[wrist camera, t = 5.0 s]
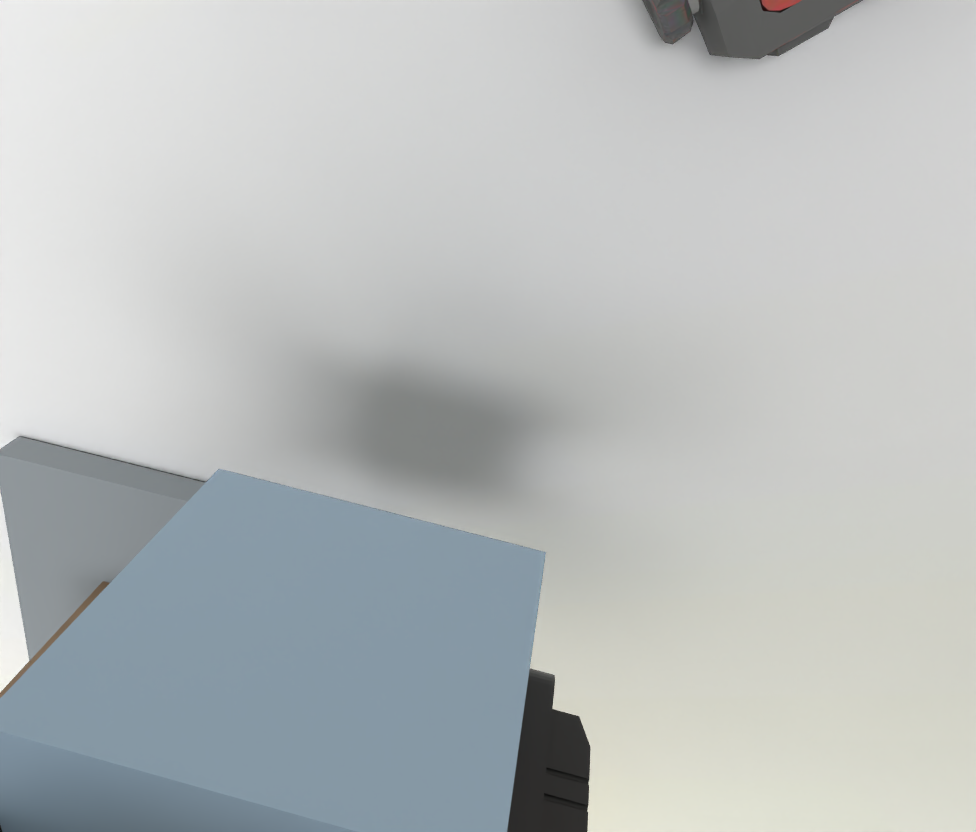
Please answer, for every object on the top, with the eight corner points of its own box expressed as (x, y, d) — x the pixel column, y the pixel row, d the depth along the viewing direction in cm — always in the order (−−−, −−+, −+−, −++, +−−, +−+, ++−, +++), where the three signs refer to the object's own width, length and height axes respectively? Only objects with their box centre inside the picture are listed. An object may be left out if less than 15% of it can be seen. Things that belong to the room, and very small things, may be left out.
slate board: (404, 531, 21) (396, 553, 20) (355, 808, 28) (346, 833, 27) (19, 436, 21) (-6, 453, 20) (62, 732, 28) (45, 755, 27)
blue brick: (545, 552, 11) (501, 872, 7) (482, 765, 14) (421, 1095, 9) (218, 468, 12) (-25, 724, 7) (218, 693, 14) (40, 981, 10)
